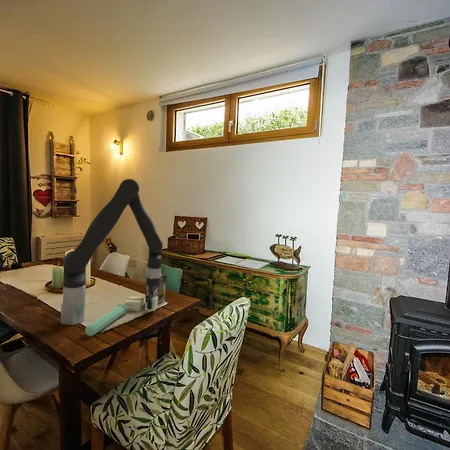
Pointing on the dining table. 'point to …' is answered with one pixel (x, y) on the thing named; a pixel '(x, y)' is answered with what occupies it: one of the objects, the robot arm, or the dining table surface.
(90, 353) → the dining table surface
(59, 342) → the dining table surface
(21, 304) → the dining table surface
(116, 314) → the container
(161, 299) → the coffee box
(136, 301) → the birch base
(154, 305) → the sage block
